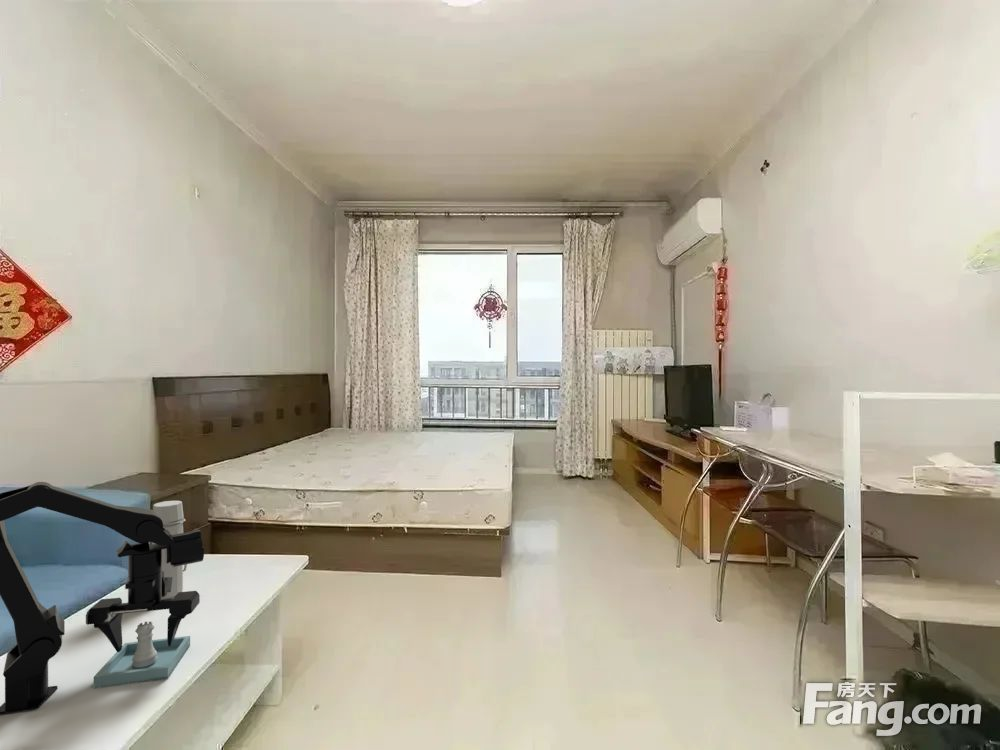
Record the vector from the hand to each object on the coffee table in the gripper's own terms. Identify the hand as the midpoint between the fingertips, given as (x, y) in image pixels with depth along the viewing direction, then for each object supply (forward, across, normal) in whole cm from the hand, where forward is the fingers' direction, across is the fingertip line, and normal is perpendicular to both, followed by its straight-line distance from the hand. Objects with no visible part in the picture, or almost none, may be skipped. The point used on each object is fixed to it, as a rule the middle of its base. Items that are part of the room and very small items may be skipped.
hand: (145, 648), depth 105 cm
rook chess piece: (+3, 0, 0) cm, 3 cm away
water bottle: (+4, +8, -37) cm, 38 cm away
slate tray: (+4, 0, 0) cm, 4 cm away
